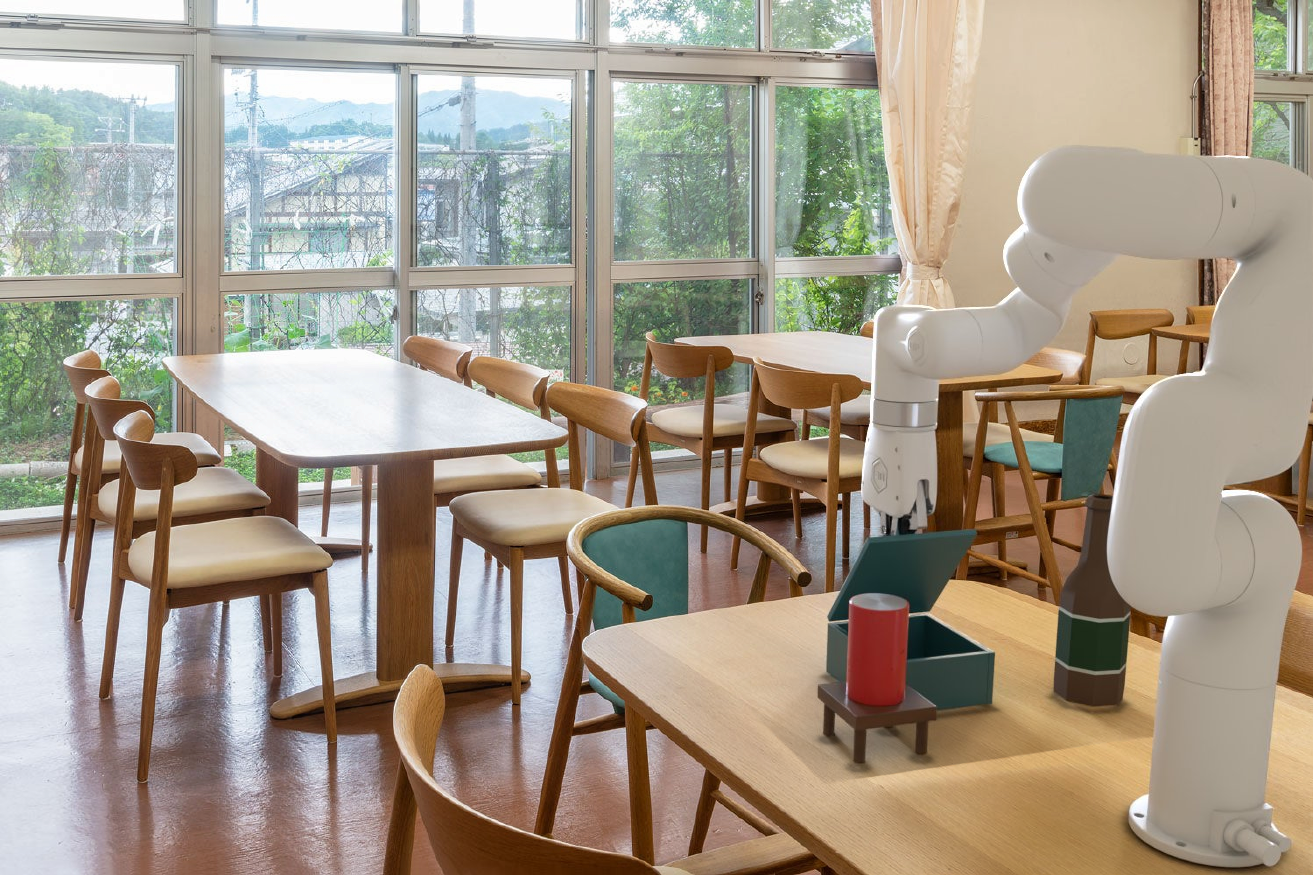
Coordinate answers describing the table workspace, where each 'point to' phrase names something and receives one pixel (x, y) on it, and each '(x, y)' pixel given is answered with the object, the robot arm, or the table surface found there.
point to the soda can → (877, 649)
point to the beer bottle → (1092, 621)
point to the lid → (904, 569)
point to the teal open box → (931, 662)
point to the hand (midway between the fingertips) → (897, 568)
